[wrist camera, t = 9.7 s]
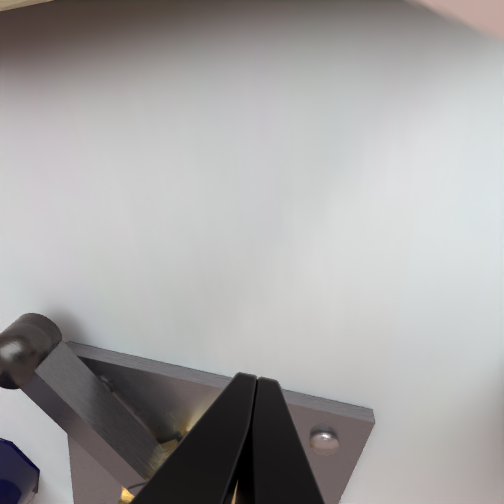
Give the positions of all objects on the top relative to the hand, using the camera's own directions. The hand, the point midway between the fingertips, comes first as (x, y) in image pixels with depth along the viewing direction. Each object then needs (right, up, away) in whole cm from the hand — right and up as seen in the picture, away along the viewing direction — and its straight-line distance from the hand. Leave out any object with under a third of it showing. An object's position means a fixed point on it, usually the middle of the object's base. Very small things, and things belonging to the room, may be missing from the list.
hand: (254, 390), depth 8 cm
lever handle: (-7, -9, +18) cm, 21 cm away
